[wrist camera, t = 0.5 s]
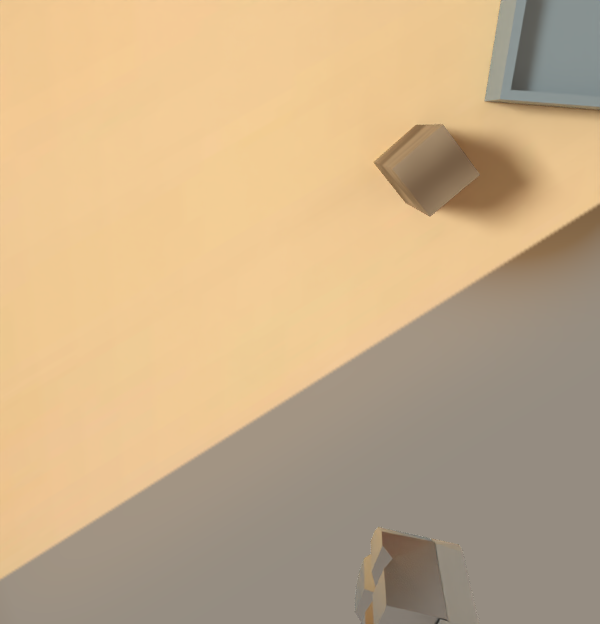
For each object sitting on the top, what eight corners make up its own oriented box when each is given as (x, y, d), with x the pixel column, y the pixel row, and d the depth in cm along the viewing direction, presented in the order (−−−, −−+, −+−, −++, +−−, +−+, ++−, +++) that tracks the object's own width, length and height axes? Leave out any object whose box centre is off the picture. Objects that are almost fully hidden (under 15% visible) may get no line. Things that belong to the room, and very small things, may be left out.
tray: (514, -80, 45) (533, -97, 42) (675, -64, 46) (706, -79, 43) (484, 101, 50) (499, 99, 46) (632, 112, 51) (657, 111, 47)
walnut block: (373, 162, 51) (392, 168, 43) (415, 125, 50) (443, 124, 42) (405, 203, 52) (429, 216, 44) (447, 167, 51) (480, 174, 43)
